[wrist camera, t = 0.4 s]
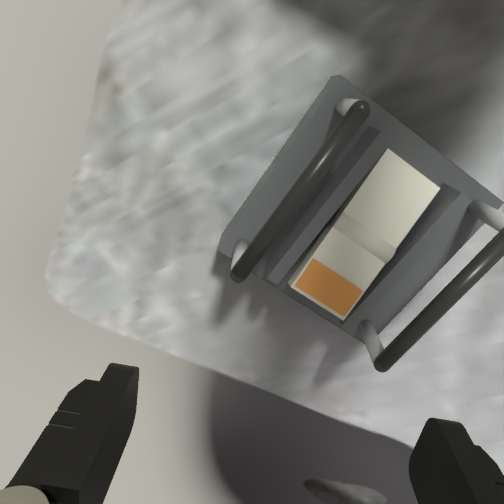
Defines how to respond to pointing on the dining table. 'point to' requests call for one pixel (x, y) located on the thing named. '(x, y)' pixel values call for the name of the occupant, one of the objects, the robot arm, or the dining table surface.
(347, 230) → the breaker paddle
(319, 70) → the dining table surface
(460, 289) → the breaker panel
